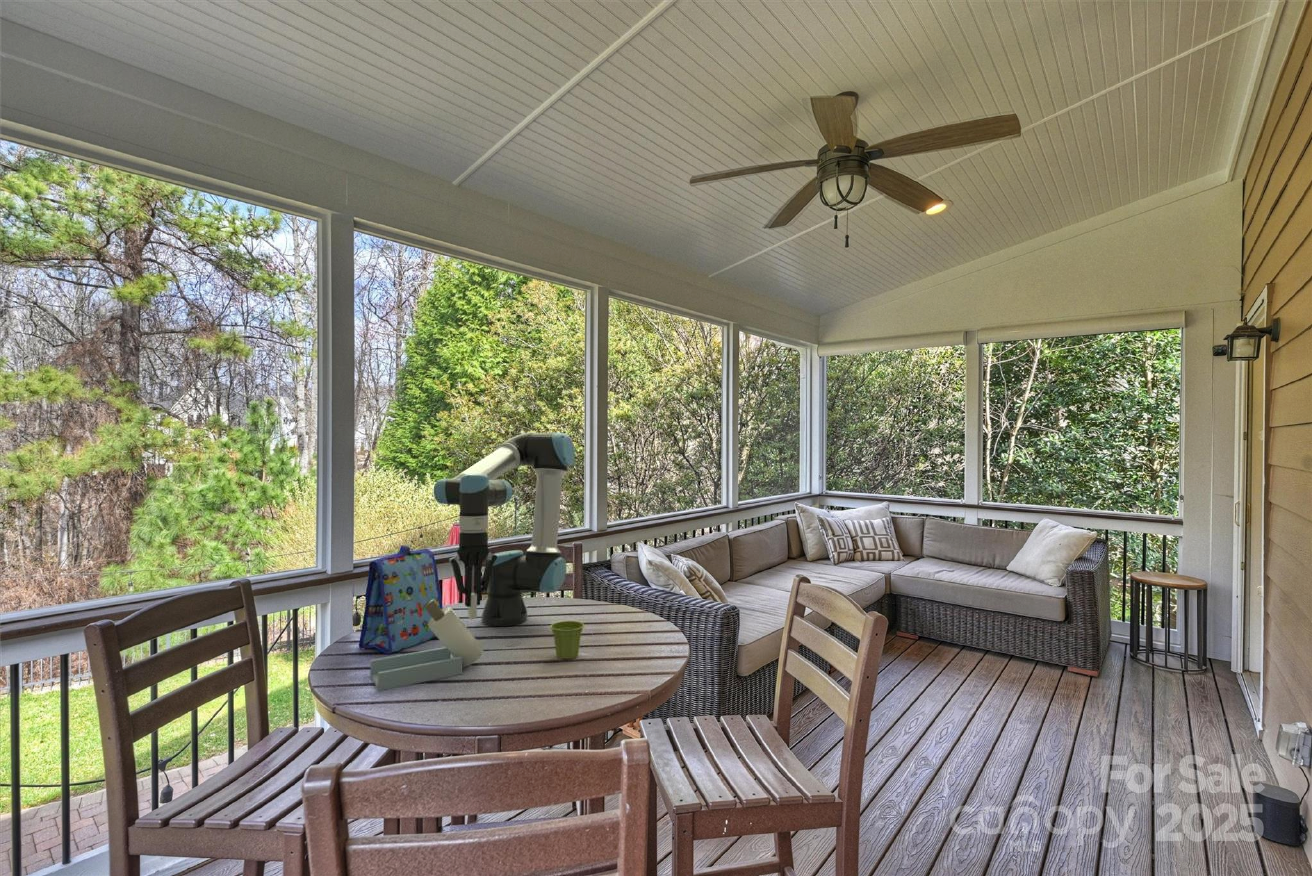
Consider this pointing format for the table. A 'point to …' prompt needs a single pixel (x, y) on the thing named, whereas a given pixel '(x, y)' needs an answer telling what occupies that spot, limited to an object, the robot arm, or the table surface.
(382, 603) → the lunch bag
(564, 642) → the plant pot
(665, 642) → the table surface
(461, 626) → the cream bottle
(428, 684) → the table surface
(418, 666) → the grey-green cradle
